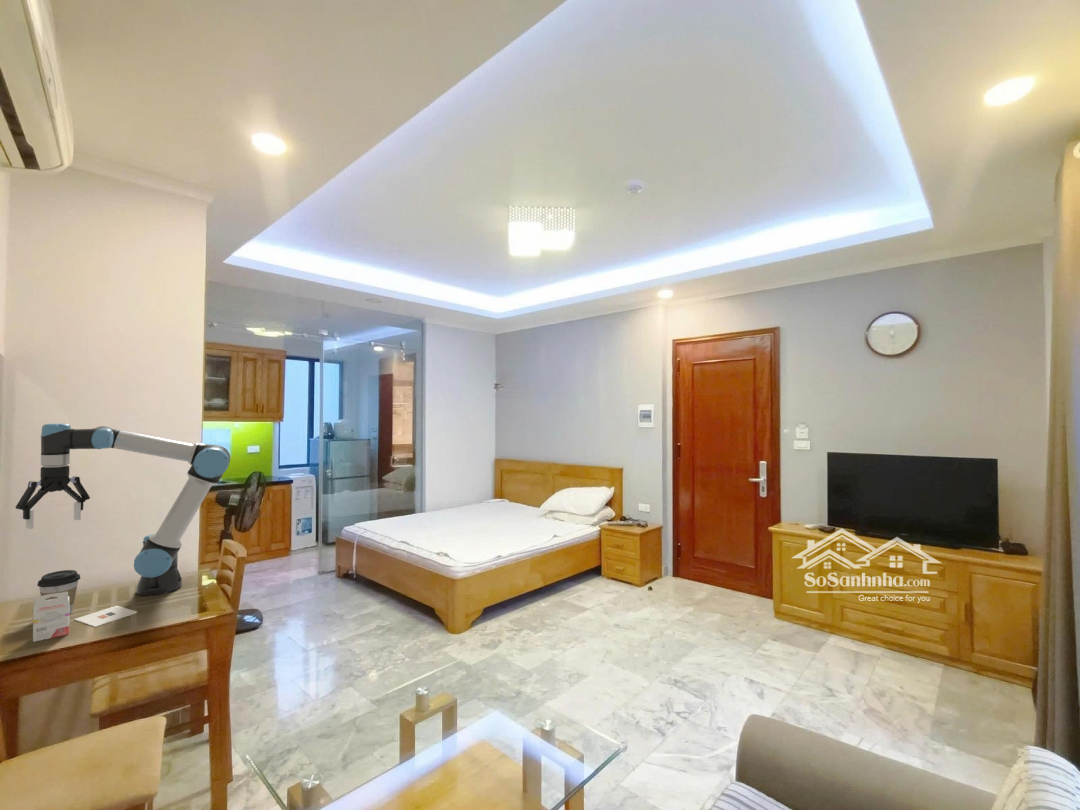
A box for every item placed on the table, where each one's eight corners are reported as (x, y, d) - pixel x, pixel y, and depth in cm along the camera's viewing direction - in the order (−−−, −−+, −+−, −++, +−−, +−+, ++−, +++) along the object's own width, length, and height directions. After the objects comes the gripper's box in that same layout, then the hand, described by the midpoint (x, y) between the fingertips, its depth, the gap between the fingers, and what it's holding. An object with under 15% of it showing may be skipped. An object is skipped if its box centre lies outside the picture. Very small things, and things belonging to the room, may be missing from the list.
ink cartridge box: (69, 629, 168) (70, 586, 168) (68, 634, 164) (69, 591, 164) (33, 636, 162) (35, 592, 162) (31, 642, 159) (33, 597, 159)
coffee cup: (31, 624, 170) (32, 581, 170) (42, 612, 180) (43, 571, 180) (75, 617, 176) (76, 576, 176) (83, 606, 186) (84, 567, 186)
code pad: (117, 606, 187) (117, 605, 187) (137, 612, 182) (137, 611, 182) (74, 619, 175) (74, 618, 175) (95, 627, 170) (95, 626, 170)
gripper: (89, 461, 191) (88, 515, 191) (2, 469, 167) (1, 530, 168) (102, 462, 188) (101, 517, 189) (15, 470, 165) (14, 533, 165)
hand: (54, 523), depth 178 cm, fingers open, 13 cm apart
